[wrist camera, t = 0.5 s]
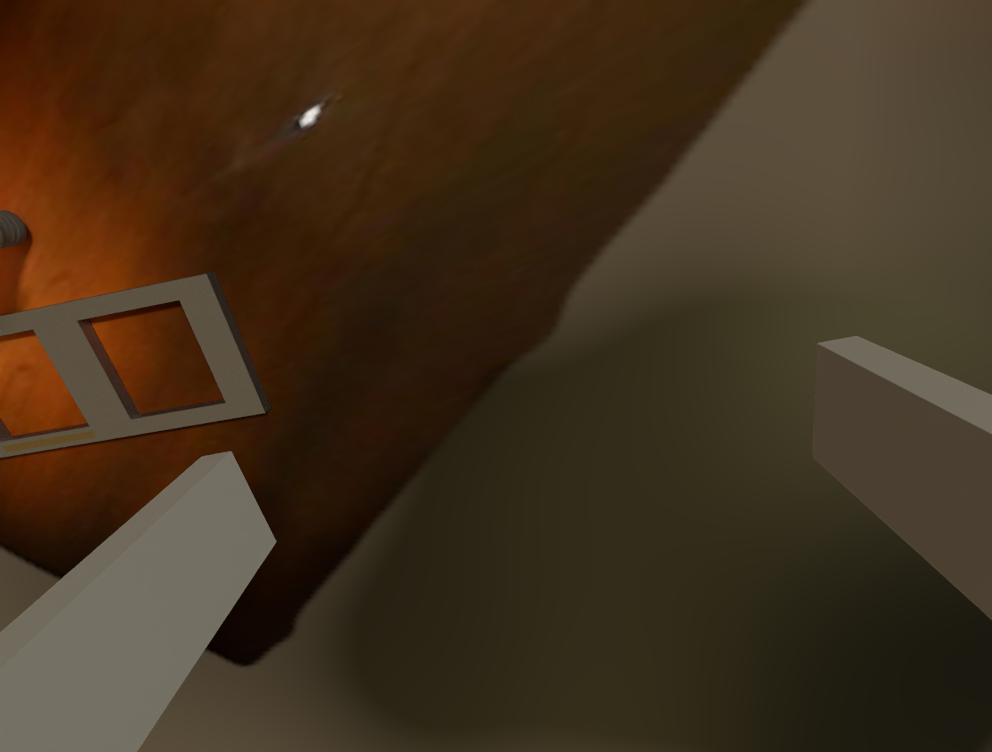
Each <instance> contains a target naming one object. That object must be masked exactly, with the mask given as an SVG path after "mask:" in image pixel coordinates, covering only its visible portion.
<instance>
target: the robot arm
mask: <svg viewBox="0 0 992 752" xmlns="http://www.w3.org/2000/svg"><path fill="white" fill-rule="evenodd" d="M814 404H815V406H814V428H813V453H812V454H813V455H812V457H813V458H814V459H815V460H816V461H817V462H818V463H820V464H821V465H822V466H823V467H824V468H825V469H826V470H827V471H828V472H829V473H831V474H832V475H833V476H834V477H835V478H836V479H837V480H838V481H839V482H840V483H842V484H843V485H844V486H845V487H846V488H847V489H848V490H849V491H851V492H852V493H853V494H854V495H855V496H856V497H857V498H858V499H859V500H860V501H861V502H863V503H864V504H865V505H866V506H867V507H868V508H869V509H870V510H871V511H872V512H874V513H875V514H876V515H877V516H878V517H879V518H880V519H881V520H882V521H883V522H885V523H886V524H887V525H888V526H889V527H890V528H891V529H892V530H893V531H894V532H896V533H897V534H898V535H899V536H900V537H901V538H902V539H903V540H904V541H905V542H907V543H908V544H909V545H910V546H911V547H912V548H913V549H914V550H915V551H917V552H918V553H919V554H920V555H921V556H922V557H923V558H924V559H925V560H926V561H928V562H929V563H930V564H931V565H932V566H933V567H934V568H935V569H936V570H937V571H939V572H940V573H941V574H942V575H943V576H944V577H945V578H946V579H948V581H950V582H951V583H952V584H953V585H954V586H955V587H956V588H957V589H958V590H959V591H961V592H962V593H963V594H964V595H965V596H966V597H967V598H968V599H969V600H971V601H972V602H973V603H974V604H975V605H976V606H977V607H978V608H979V609H980V610H982V611H983V612H984V613H985V614H986V615H987V616H988V617H989V618H990V619H991V620H992V395H990V394H988V393H986V392H984V391H981V390H979V389H977V388H974V387H972V386H970V385H967V384H965V383H963V382H960V381H959V380H956V379H954V378H952V377H949V376H947V375H945V374H942V373H940V372H938V371H936V370H933V369H931V368H929V367H927V366H924V365H922V364H920V363H917V362H915V361H913V360H910V359H908V358H906V357H904V356H901V355H899V354H897V353H895V352H892V351H890V350H888V349H885V348H883V347H881V346H878V345H876V344H874V343H872V342H869V341H867V340H865V339H863V338H860V337H858V336H854V337H849V338H844V339H838V340H833V341H827V342H821V343H817V354H816V380H815V403H814ZM275 543H276V540H275V538H274V536H273V534H272V532H271V530H270V528H269V526H268V524H267V522H266V520H265V518H264V516H263V514H262V512H261V510H260V508H259V506H258V504H257V502H256V500H255V498H254V496H253V494H252V492H251V490H250V488H249V486H248V484H247V482H246V480H245V478H244V476H243V474H242V472H241V470H240V468H239V466H238V464H237V462H236V460H235V458H234V456H233V454H232V452H231V451H229V452H224V453H219V454H213V455H208V456H202V457H201V458H200V459H198V460H197V461H196V462H195V463H194V464H193V465H192V466H190V467H189V468H188V469H187V470H186V471H185V472H183V473H182V474H181V475H180V476H179V477H178V478H177V479H175V480H174V481H173V482H172V483H171V484H170V485H169V486H167V487H166V488H165V489H164V490H163V491H162V492H161V493H159V494H158V495H157V496H156V497H155V498H154V499H153V500H151V501H150V502H149V503H148V504H147V505H146V506H144V507H143V508H142V509H141V510H140V511H139V512H138V513H136V514H135V515H134V516H133V517H132V518H131V519H130V520H128V521H127V522H126V523H125V524H124V525H123V526H122V527H120V528H119V529H118V530H117V531H116V532H115V533H114V534H112V535H111V536H110V537H109V538H108V539H107V540H105V541H104V542H103V543H102V544H101V545H100V546H99V547H97V548H96V549H95V550H94V551H93V552H92V553H91V554H89V555H88V556H87V557H86V558H85V559H84V560H83V561H81V562H80V563H79V564H78V565H77V566H76V567H75V568H73V569H72V570H71V571H70V572H69V573H68V574H66V575H65V576H64V577H63V578H62V579H61V580H60V581H58V582H57V583H56V584H55V585H54V586H53V587H52V588H51V589H49V590H48V591H47V592H46V593H45V594H44V595H42V596H41V597H40V598H39V599H38V600H37V601H36V602H34V603H33V604H32V605H31V606H30V607H29V608H28V609H26V610H25V611H24V612H23V613H22V614H21V615H20V616H18V617H17V618H16V619H15V620H14V621H13V622H11V623H10V624H9V625H8V626H7V627H6V628H5V629H3V631H1V632H0V752H137V751H138V749H139V748H140V746H141V745H142V743H143V742H144V740H145V739H146V737H147V736H148V734H149V733H150V731H151V730H152V728H153V727H154V725H155V724H156V722H157V721H158V719H159V718H160V716H161V715H162V713H163V712H164V710H165V709H166V707H167V706H168V704H169V703H170V701H171V700H172V698H173V697H174V695H175V694H176V692H177V691H178V689H179V688H180V686H181V685H182V683H183V682H184V680H185V679H186V677H187V675H188V674H189V672H190V671H191V670H192V668H193V666H194V665H195V663H196V662H197V661H198V659H199V658H200V656H201V654H202V653H203V652H204V650H205V648H206V647H207V645H208V644H209V642H210V641H211V639H212V638H213V636H214V635H215V633H216V632H217V630H218V629H219V627H220V626H221V624H222V623H223V621H224V620H225V618H226V617H227V615H228V614H229V612H230V611H231V609H232V608H233V606H234V605H235V603H236V602H237V600H238V599H239V597H240V596H241V594H242V593H243V591H244V590H245V588H246V587H247V585H248V584H249V582H250V581H251V579H252V578H253V576H254V575H255V573H256V572H257V570H258V569H259V567H260V566H261V564H262V563H263V561H264V560H265V558H266V557H267V555H268V554H269V552H270V551H271V549H272V548H273V546H274V545H275Z"/></svg>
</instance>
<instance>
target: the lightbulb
mask: <svg viewBox="0 0 992 752" xmlns="http://www.w3.org/2000/svg"><path fill="white" fill-rule="evenodd" d="M26 237H27V229H26V226H25V225H24V223H23V221H22V220H21V219H20V218H19V217H18V216H16V215H15V214H13V213H12V212H9V211H6V210H0V248H5V247H10V246H14V245H19V244H22V243H23V242H24V241H25V239H26Z"/></svg>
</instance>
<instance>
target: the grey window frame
mask: <svg viewBox="0 0 992 752" xmlns="http://www.w3.org/2000/svg"><path fill="white" fill-rule="evenodd" d="M177 300H179V301H180V303H181V305H182V307H183V309H184V312H185V314H186V316H187V318H188V320H189V323H190V325H191V327H192V329H193V331H194V334H195V336H196V338H197V340H198V342H199V345H200V347H201V349H202V351H203V353H204V356H205V358H206V360H207V362H208V365H209V367H210V369H211V371H212V373H213V376H214V378H215V380H216V382H217V384H218V387H219V389H220V391H221V393H222V395H223V398H224V400H218V401H213V402H207V403H201V404H195V405H190V406H184V407H178V408H172V409H167V410H161V411H155V412H149V413H144V414H139V413H138V411H137V409H136V407H135V405H134V403H133V402H132V400H131V398H130V396H129V394H128V392H127V390H126V388H125V387H124V385H123V383H122V381H121V379H120V377H119V375H118V374H117V372H116V370H115V368H114V366H113V364H112V362H111V360H110V359H109V357H108V355H107V353H106V351H105V349H104V347H103V346H102V344H101V342H100V340H99V338H98V336H97V334H96V332H95V331H94V329H93V327H92V325H91V323H90V321H89V319H88V318H93V317H98V316H103V315H108V314H113V313H118V312H123V311H128V310H133V309H138V308H143V307H148V306H153V305H158V304H162V303H167V302H172V301H177ZM28 330H34V332H35V334H36V336H37V337H38V339H39V341H40V342H41V344H42V346H43V348H44V349H45V351H46V353H47V354H48V356H49V358H50V359H51V361H52V363H53V365H54V366H55V368H56V370H57V371H58V373H59V375H60V377H61V378H62V380H63V382H64V383H65V385H66V387H67V388H68V390H69V392H70V394H71V395H72V397H73V399H74V400H75V402H76V404H77V406H78V407H79V409H80V411H81V412H82V414H83V416H84V417H85V419H86V421H87V423H86V424H81V425H75V426H69V427H63V428H58V429H52V430H46V431H40V432H35V433H29V434H23V435H17V436H11V434H10V433H9V431H8V430H7V428H6V427H5V425H4V424H3V422H2V421H1V419H0V458H2V457H8V456H14V455H20V454H26V453H32V452H38V451H44V450H50V449H56V448H61V447H67V446H73V445H79V444H85V443H91V442H97V441H103V440H109V439H115V438H121V437H126V436H132V435H138V434H144V433H150V432H156V431H162V430H168V429H174V428H180V427H186V426H191V425H197V424H203V423H209V422H215V421H221V420H227V419H233V418H239V417H245V416H251V415H256V414H262V413H266V412H267V411H268V410H269V409H270V408H271V407H270V404H269V402H268V399H267V397H266V395H265V392H264V390H263V387H262V385H261V383H260V380H259V378H258V375H257V373H256V371H255V368H254V366H253V363H252V361H251V359H250V356H249V354H248V351H247V349H246V347H245V344H244V342H243V339H242V337H241V335H240V332H239V330H238V327H237V325H236V322H235V320H234V318H233V315H232V313H231V310H230V308H229V306H228V303H227V301H226V298H225V296H224V294H223V291H222V289H221V286H220V284H219V282H218V279H217V277H216V274H215V272H210V273H205V274H200V275H195V276H190V277H186V278H181V279H176V280H171V281H166V282H161V283H156V284H152V285H147V286H142V287H137V288H132V289H127V290H122V291H118V292H113V293H108V294H103V295H98V296H93V297H88V298H84V299H79V300H74V301H69V302H64V303H59V304H54V305H50V306H45V307H40V308H35V309H30V310H25V311H20V312H15V313H11V314H6V315H1V316H0V336H3V335H8V334H13V333H18V332H23V331H28Z"/></svg>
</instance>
